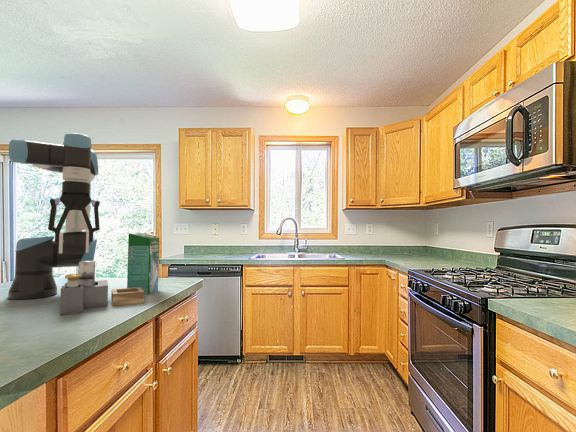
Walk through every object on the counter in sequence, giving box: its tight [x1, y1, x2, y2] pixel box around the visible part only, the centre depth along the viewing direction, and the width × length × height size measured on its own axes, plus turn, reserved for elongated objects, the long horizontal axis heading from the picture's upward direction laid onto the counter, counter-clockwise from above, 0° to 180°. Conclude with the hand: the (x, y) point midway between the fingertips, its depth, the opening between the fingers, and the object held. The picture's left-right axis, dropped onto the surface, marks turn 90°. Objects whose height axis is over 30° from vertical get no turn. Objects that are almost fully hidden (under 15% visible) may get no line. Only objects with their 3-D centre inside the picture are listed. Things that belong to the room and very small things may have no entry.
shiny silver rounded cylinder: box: [77, 260, 96, 286], centre depth 113 cm, size 5×5×12 cm
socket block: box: [59, 279, 109, 316], centre depth 111 cm, size 19×13×8 cm
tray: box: [110, 287, 145, 307], centre depth 118 cm, size 10×10×4 cm
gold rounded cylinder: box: [64, 273, 81, 288], centre depth 104 cm, size 4×4×7 cm
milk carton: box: [126, 232, 160, 296], centre depth 135 cm, size 9×9×25 cm
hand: (74, 252), depth 104 cm, fingers open, 6 cm apart
